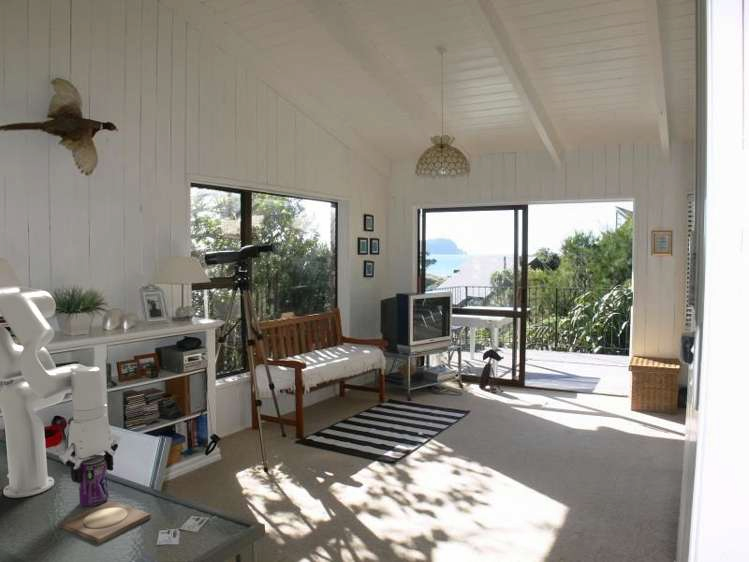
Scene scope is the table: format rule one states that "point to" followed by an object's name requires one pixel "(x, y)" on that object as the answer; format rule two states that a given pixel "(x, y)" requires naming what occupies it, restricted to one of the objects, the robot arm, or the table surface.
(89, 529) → the board
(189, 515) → the table surface
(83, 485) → the beverage can
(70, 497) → the table surface
